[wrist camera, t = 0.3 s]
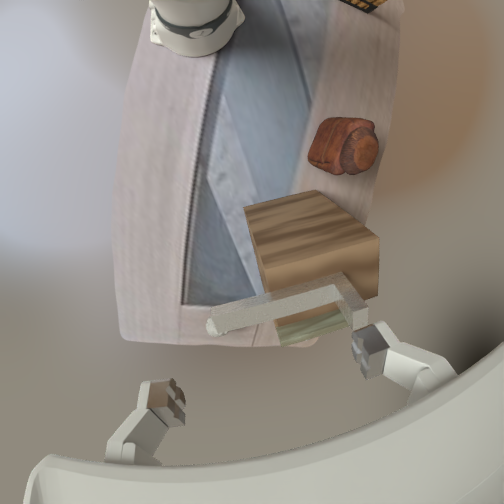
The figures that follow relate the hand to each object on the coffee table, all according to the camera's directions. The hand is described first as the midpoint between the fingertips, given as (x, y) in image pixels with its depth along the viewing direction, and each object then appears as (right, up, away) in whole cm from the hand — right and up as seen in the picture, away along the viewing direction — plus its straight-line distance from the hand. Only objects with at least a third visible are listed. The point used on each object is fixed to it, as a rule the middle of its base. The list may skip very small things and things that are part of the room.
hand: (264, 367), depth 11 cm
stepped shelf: (+8, +8, +50) cm, 52 cm away
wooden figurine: (+15, +28, +42) cm, 52 cm away
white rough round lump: (-9, -11, +58) cm, 60 cm away
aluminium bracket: (+3, -1, +25) cm, 25 cm away
